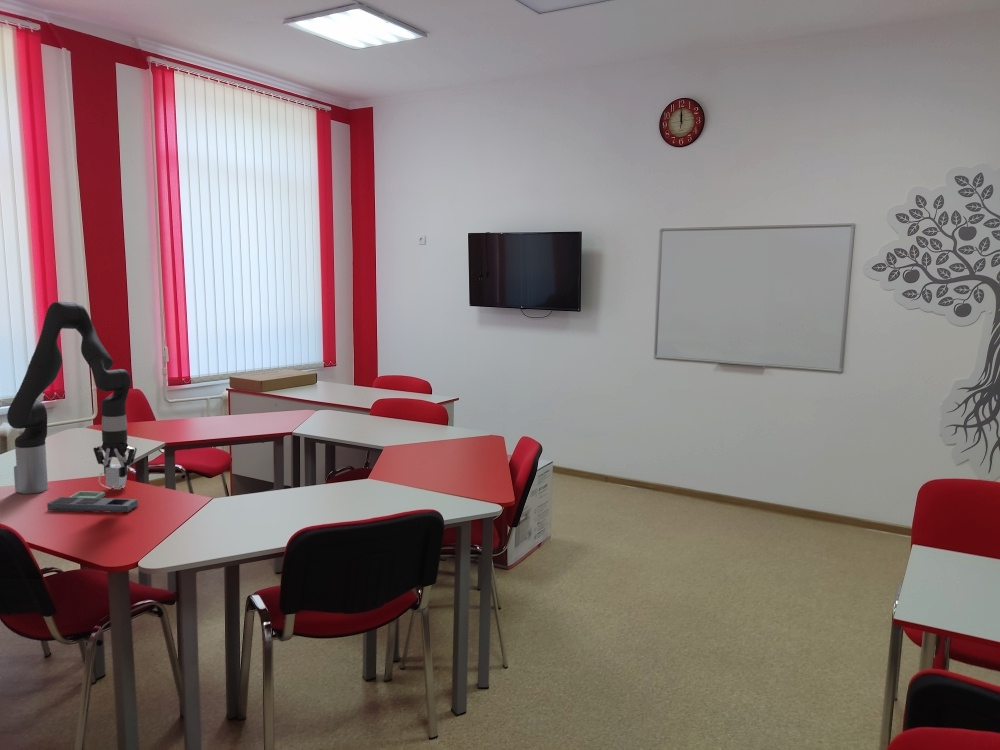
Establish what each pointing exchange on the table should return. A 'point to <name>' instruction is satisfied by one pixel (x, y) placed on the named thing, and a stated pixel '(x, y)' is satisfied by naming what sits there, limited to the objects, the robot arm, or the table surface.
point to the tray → (89, 494)
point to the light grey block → (114, 475)
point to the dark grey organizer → (92, 504)
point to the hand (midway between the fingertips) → (115, 476)
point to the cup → (113, 486)
